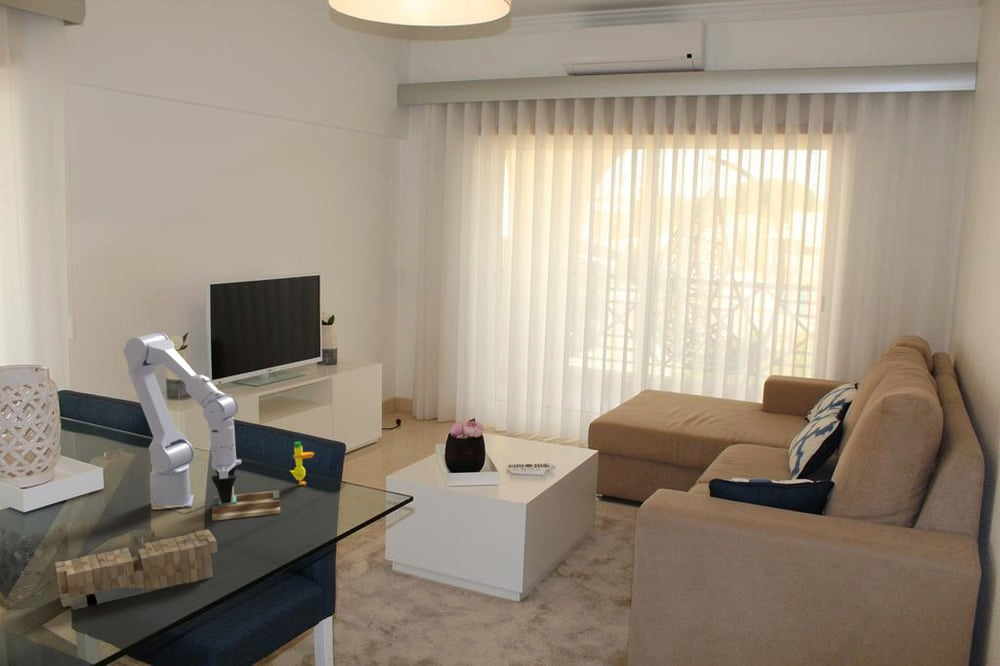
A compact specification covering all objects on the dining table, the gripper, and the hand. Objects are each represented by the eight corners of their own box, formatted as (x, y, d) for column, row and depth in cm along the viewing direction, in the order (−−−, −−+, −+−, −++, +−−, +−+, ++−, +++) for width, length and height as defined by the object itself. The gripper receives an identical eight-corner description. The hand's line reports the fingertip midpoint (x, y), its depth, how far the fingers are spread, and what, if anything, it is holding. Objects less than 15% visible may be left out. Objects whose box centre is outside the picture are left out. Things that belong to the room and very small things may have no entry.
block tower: (63, 618, 159) (220, 576, 174) (57, 577, 158) (216, 538, 173) (60, 602, 166) (211, 562, 181) (54, 562, 164) (208, 525, 179)
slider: (219, 510, 208) (217, 490, 207) (220, 503, 212) (218, 483, 212) (236, 508, 209) (234, 488, 208) (236, 501, 214) (235, 481, 213)
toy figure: (314, 481, 232) (312, 438, 230) (316, 485, 228) (314, 442, 227) (289, 483, 230) (287, 441, 228) (290, 488, 226) (288, 445, 224)
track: (212, 520, 204) (211, 509, 204) (214, 503, 215) (213, 493, 215) (280, 513, 208) (279, 502, 208) (279, 496, 220) (278, 486, 219)
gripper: (239, 451, 202) (242, 505, 204) (240, 435, 216) (243, 486, 218) (208, 454, 200) (212, 508, 202) (211, 438, 214) (215, 489, 216)
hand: (226, 497), depth 210 cm, fingers open, 7 cm apart
